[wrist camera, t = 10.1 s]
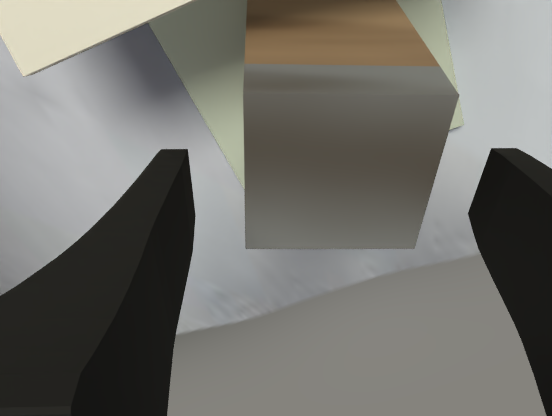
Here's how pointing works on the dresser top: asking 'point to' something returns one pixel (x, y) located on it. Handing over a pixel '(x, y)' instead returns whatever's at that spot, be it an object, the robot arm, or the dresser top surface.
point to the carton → (70, 26)
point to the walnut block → (339, 125)
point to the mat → (231, 54)
